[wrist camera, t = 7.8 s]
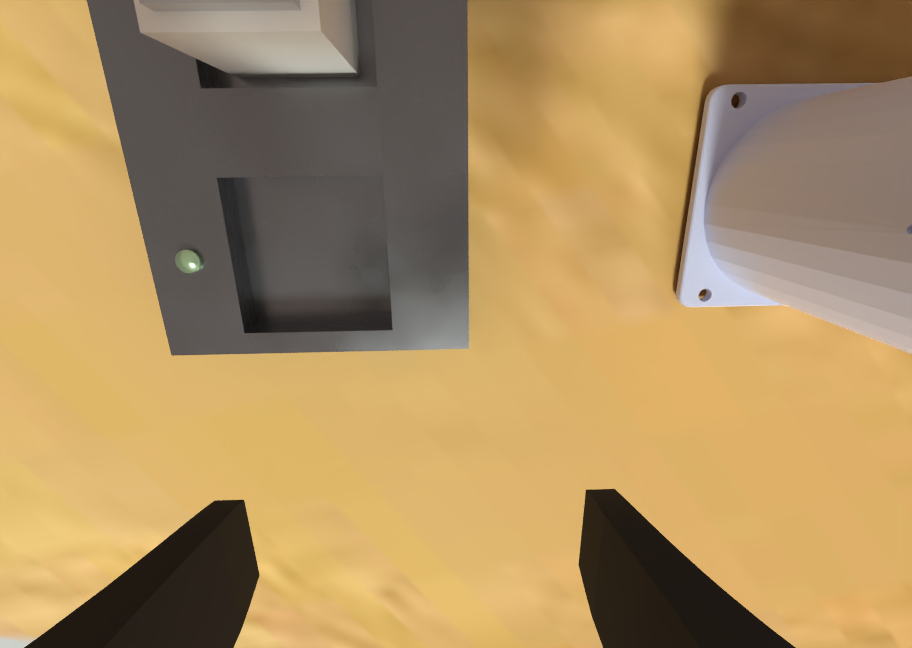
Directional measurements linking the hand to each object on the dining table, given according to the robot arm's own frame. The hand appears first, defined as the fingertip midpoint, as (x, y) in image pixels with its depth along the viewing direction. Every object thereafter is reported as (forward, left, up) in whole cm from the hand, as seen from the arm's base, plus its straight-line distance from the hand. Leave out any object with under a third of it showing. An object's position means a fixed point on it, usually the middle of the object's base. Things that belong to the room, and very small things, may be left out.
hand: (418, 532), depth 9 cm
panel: (+4, -9, -10) cm, 14 cm away
